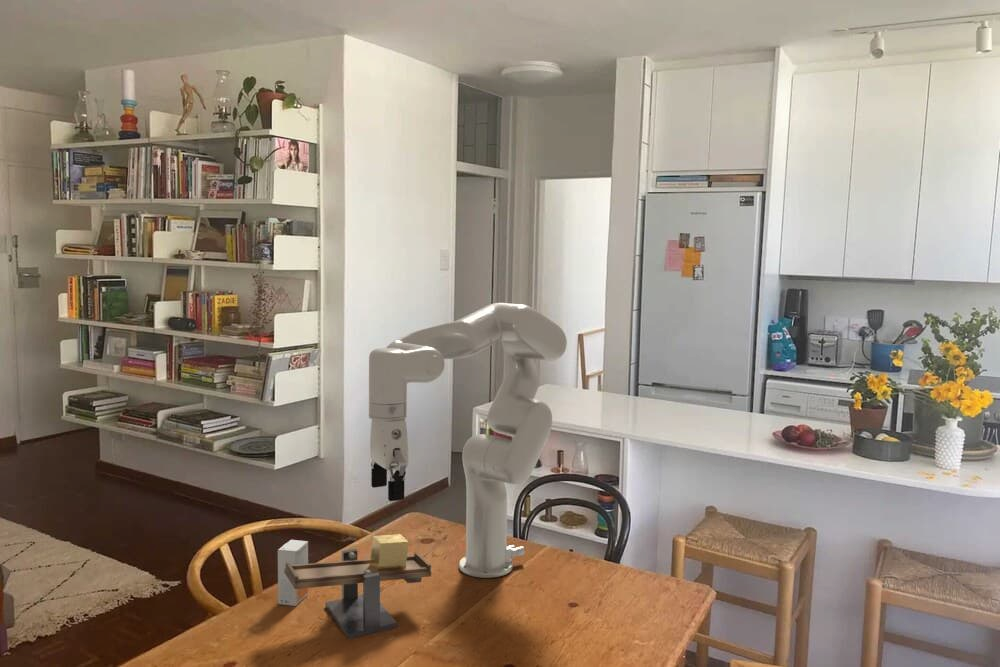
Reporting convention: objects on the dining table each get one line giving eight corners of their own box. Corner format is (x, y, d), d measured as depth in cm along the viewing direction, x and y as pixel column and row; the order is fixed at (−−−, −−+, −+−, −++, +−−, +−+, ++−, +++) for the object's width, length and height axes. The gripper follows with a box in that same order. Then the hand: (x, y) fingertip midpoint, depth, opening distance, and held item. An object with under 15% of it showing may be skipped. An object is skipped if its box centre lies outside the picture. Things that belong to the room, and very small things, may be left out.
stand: (371, 597, 167) (371, 545, 166) (397, 627, 154) (397, 571, 153) (325, 606, 162) (325, 553, 161) (348, 639, 149) (347, 581, 148)
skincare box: (296, 606, 162) (295, 551, 161) (277, 604, 163) (276, 549, 162) (309, 594, 168) (308, 540, 167) (291, 592, 169) (290, 538, 168)
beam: (411, 566, 169) (413, 547, 169) (433, 586, 159) (435, 566, 159) (281, 577, 155) (283, 556, 155) (296, 600, 145) (298, 578, 145)
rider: (397, 562, 163) (400, 534, 163) (405, 570, 159) (408, 541, 159) (370, 564, 160) (373, 535, 160) (377, 572, 156) (380, 543, 156)
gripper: (422, 416, 151) (421, 503, 152) (390, 401, 166) (389, 479, 167) (385, 420, 147) (384, 508, 149) (356, 403, 162) (356, 483, 164)
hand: (387, 493), depth 158 cm, fingers open, 9 cm apart
